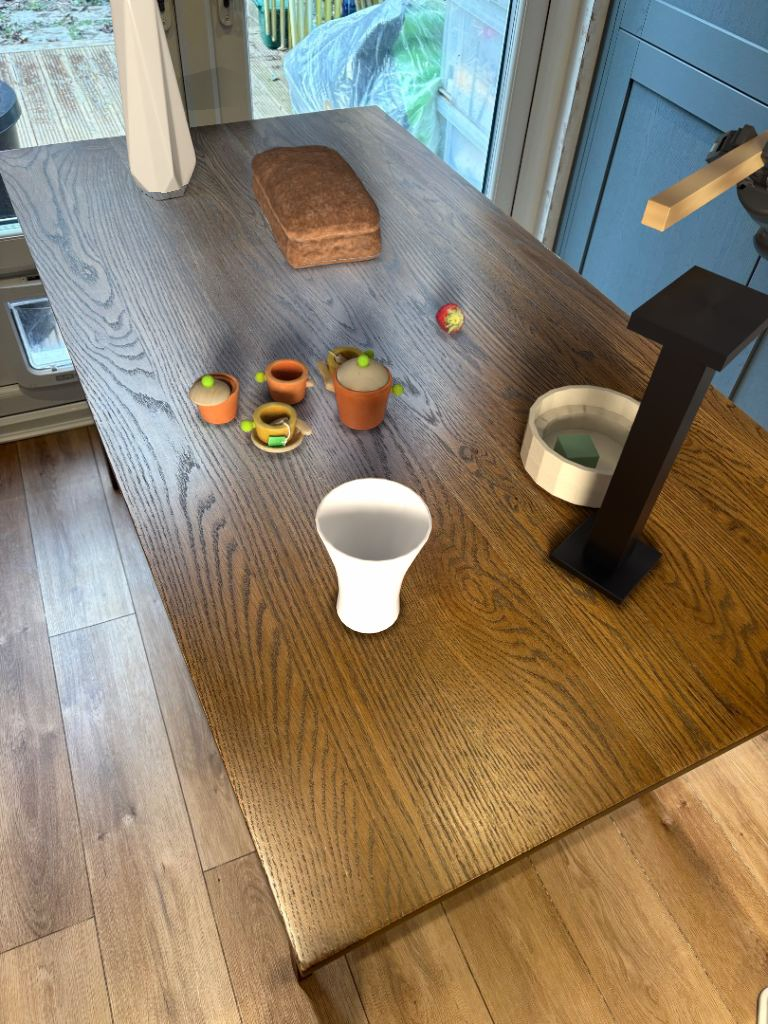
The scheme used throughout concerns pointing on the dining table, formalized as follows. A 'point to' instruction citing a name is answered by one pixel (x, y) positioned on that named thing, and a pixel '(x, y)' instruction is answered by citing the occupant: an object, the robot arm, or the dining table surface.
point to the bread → (315, 206)
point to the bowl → (577, 415)
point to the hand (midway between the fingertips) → (756, 140)
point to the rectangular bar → (704, 184)
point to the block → (577, 449)
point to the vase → (150, 99)
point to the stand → (662, 420)
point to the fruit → (450, 318)
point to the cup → (372, 546)
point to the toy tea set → (301, 396)
